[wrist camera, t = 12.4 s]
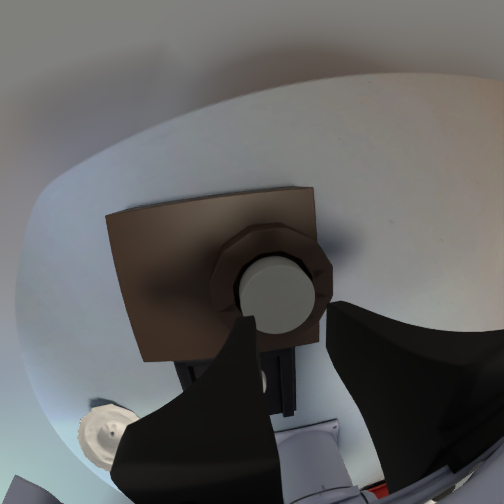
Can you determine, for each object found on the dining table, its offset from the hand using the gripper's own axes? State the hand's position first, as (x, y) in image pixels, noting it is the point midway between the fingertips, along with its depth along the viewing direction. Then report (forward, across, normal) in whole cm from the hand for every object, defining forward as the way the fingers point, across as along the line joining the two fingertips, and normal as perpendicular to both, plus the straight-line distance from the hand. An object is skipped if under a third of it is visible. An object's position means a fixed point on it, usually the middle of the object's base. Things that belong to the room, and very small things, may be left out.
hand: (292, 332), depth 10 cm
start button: (+5, 0, 0) cm, 5 cm away
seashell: (+10, +17, +16) cm, 26 cm away
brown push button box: (+10, +3, 0) cm, 11 cm away
